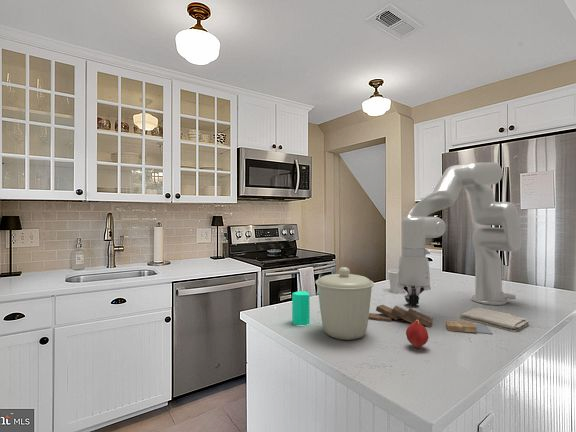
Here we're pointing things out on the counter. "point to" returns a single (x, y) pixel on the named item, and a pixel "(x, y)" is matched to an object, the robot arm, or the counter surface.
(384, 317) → the domino
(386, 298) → the counter surface
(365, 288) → the canister
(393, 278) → the dixie cup
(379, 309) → the domino
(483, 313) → the washcloth
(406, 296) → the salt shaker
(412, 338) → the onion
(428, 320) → the domino
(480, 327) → the pad
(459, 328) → the domino
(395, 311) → the domino
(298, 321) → the candle
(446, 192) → the robot arm
